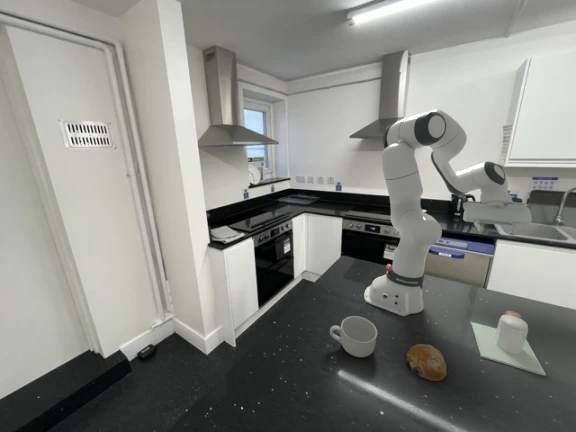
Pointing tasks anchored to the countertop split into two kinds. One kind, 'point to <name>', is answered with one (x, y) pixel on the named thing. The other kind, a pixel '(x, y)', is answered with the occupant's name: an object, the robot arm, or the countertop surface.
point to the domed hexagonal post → (511, 334)
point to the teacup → (356, 336)
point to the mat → (495, 353)
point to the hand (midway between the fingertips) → (496, 232)
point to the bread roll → (426, 362)
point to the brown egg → (513, 314)
